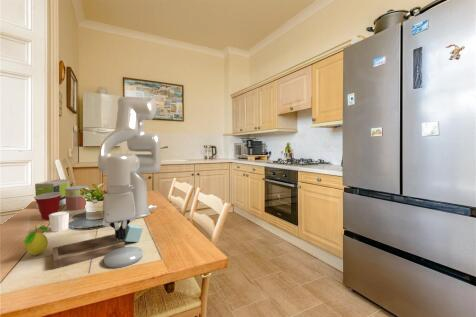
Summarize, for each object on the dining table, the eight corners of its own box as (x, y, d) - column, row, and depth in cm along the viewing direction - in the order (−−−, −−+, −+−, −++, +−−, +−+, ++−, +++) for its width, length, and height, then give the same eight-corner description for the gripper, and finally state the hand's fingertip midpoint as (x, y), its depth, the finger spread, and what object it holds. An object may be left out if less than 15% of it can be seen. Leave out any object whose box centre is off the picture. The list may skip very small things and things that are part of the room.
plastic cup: (29, 220, 110) (28, 195, 109) (54, 214, 120) (53, 191, 119) (43, 223, 106) (42, 197, 105) (68, 216, 116) (67, 193, 115)
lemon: (48, 248, 80) (47, 220, 79) (52, 254, 76) (51, 224, 76) (22, 255, 75) (20, 226, 74) (25, 261, 71) (23, 230, 70)
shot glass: (58, 233, 94) (57, 216, 94) (45, 231, 95) (44, 215, 95) (73, 227, 101) (73, 211, 100) (60, 226, 102) (60, 210, 102)
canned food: (82, 204, 139) (81, 185, 138) (93, 207, 134) (93, 186, 133) (61, 209, 129) (60, 188, 128) (73, 212, 124) (72, 190, 123)
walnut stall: (116, 239, 88) (116, 233, 88) (124, 249, 79) (124, 242, 79) (52, 255, 75) (52, 247, 75) (54, 269, 67) (53, 260, 67)
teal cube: (133, 238, 89) (137, 225, 90) (138, 241, 86) (142, 228, 87) (120, 237, 86) (124, 223, 87) (125, 241, 83) (129, 227, 83)
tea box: (54, 202, 144) (53, 179, 143) (71, 202, 145) (70, 179, 144) (35, 209, 129) (34, 183, 128) (54, 208, 130) (53, 182, 129)
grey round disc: (136, 247, 81) (136, 243, 81) (147, 259, 73) (147, 255, 73) (100, 257, 74) (100, 253, 74) (108, 272, 66) (108, 267, 65)
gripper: (137, 185, 90) (138, 231, 91) (93, 190, 80) (94, 241, 81) (143, 188, 84) (144, 237, 85) (96, 193, 75) (98, 248, 76)
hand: (120, 239), depth 83 cm, fingers closed
